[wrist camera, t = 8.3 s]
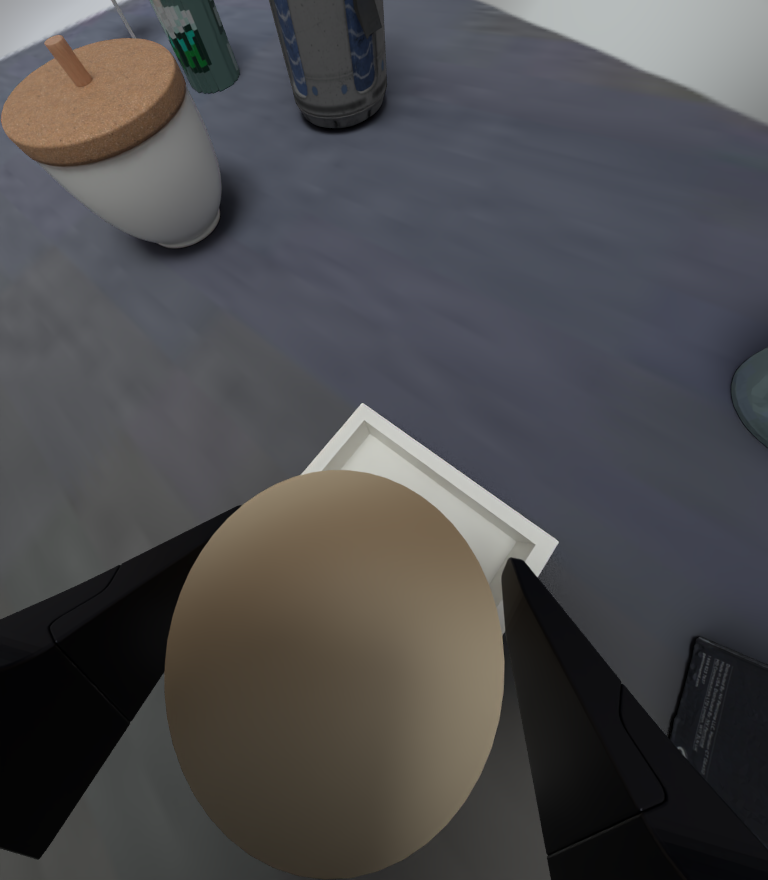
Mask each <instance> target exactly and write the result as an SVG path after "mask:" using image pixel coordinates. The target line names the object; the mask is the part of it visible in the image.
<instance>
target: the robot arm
mask: <svg viewBox="0 0 768 880" xmlns="http://www.w3.org/2000/svg"><path fill="white" fill-rule="evenodd" d="M240 507H241V505H239V506H236V507H234V508H232V509H230V510H228V511H226V512H224V513H222V514H220V515H218V516H216V517H214V518H212V519H210V520H208V521H206V522H204V523H202V524H200V525H198V526H196V527H194V528H192V529H190V530H188V531H186V532H184V533H182V534H180V535H178V536H176V537H174V538H172V539H170V540H168V541H166V542H164V543H162V544H160V545H158V546H156V547H154V548H152V549H150V550H148V551H146V552H144V553H142V554H140V555H138V556H136V557H134V558H132V559H130V560H128V561H126V562H124V563H122V564H121V565H118V566H116V567H114V568H112V569H110V570H108V571H106V572H104V573H102V574H100V575H98V576H96V577H94V578H92V579H90V580H88V581H86V582H83V583H81V584H79V585H77V586H75V587H73V588H70V589H68V590H66V591H64V592H62V593H59V594H57V595H55V596H53V597H50V598H48V599H46V600H44V601H41V602H39V603H37V604H35V605H32V606H30V607H28V608H25V609H23V610H21V611H19V612H16V613H14V614H12V615H10V616H7V617H5V618H3V619H1V620H0V849H3V850H6V851H10V852H13V853H16V854H20V855H23V856H27V857H30V858H33V859H37V860H38V859H40V858H41V856H42V855H43V854H44V852H45V851H46V849H47V848H48V847H49V845H50V844H51V842H52V841H53V839H54V838H55V836H56V835H57V833H58V832H59V830H60V829H61V827H62V826H63V824H64V823H65V821H66V820H67V818H68V817H69V815H70V814H71V812H72V811H73V809H74V808H75V806H76V805H77V803H78V802H79V800H80V799H81V797H82V796H83V794H84V792H85V791H86V789H87V788H88V786H89V785H90V783H91V782H92V780H93V779H94V777H95V776H96V774H97V773H98V771H99V770H100V768H101V767H102V765H103V764H104V762H105V761H106V759H107V758H108V756H109V755H110V753H111V752H112V750H113V749H114V747H115V746H116V744H117V743H118V741H119V740H120V738H121V737H122V735H123V734H124V732H125V731H126V729H127V728H128V726H129V725H130V722H131V721H132V720H133V718H134V717H135V715H136V714H137V712H138V711H139V709H140V708H141V706H142V705H143V703H144V702H145V700H146V699H147V697H148V696H149V694H150V693H151V691H152V690H153V688H154V686H155V685H156V683H157V682H158V680H159V679H160V677H161V676H162V674H163V673H164V671H165V658H166V649H167V640H168V635H169V631H170V626H171V622H172V617H173V614H174V610H175V607H176V604H177V601H178V598H179V595H180V592H181V590H182V588H183V585H184V583H185V581H186V579H187V576H188V574H189V572H190V570H191V568H192V567H193V565H194V563H195V561H196V560H197V558H198V556H199V554H200V553H201V551H202V550H203V548H204V547H205V545H206V544H207V543H208V541H209V540H210V539H211V537H212V536H213V534H214V533H215V532H216V531H217V530H218V529H219V528H220V527H221V525H222V524H223V523H224V522H225V521H226V520H227V519H228V518H229V517H230V516H231V515H232V514H233V513H234V512H236V511H237V510H238V509H239V508H240ZM501 584H502V597H503V610H504V622H505V632H506V638H507V644H508V649H509V654H510V660H511V665H512V671H513V676H514V681H515V687H516V692H517V698H518V703H519V708H520V714H521V719H522V724H523V730H524V735H525V741H526V746H527V751H528V757H529V762H530V768H531V773H532V778H533V784H534V789H535V794H536V800H537V805H538V811H539V816H540V821H541V827H542V832H543V838H544V843H545V848H546V853H547V855H548V856H547V860H548V866H549V871H550V876H551V880H768V849H767V848H766V847H765V846H764V845H763V843H762V842H761V841H760V840H759V839H758V838H757V837H756V836H755V835H754V833H753V832H752V831H751V830H750V829H749V828H748V827H747V826H746V825H745V823H744V822H743V821H742V820H741V819H740V818H739V817H738V816H737V815H736V813H735V812H734V811H733V810H732V809H731V808H730V807H729V806H728V805H727V803H726V802H725V801H724V800H723V799H722V798H721V797H720V796H719V794H718V793H717V792H716V791H715V790H714V789H713V788H712V787H711V786H710V784H709V783H708V782H707V781H706V780H705V779H704V778H703V777H702V776H701V774H700V773H699V772H698V771H697V770H696V769H695V768H694V767H693V766H692V764H691V763H690V762H689V761H688V760H687V759H686V758H685V757H684V755H683V754H682V753H681V752H680V751H679V750H678V749H677V747H676V746H675V745H674V744H673V743H672V742H671V741H670V739H669V738H668V737H667V736H666V735H665V734H664V733H663V731H662V730H661V729H660V728H659V727H658V725H657V724H656V723H655V722H654V721H653V719H652V718H651V717H650V716H649V715H648V713H647V712H646V711H645V710H644V709H643V707H642V706H641V705H640V704H639V703H638V701H637V700H636V699H635V698H634V696H633V695H632V694H631V693H630V691H629V690H628V689H627V688H626V686H625V685H624V684H621V681H620V679H619V678H618V677H617V675H616V674H615V673H614V672H613V671H612V669H611V668H610V667H609V666H608V664H607V663H606V662H605V661H604V659H603V658H602V657H601V656H600V654H599V653H598V652H597V651H596V649H595V648H594V647H593V646H592V644H591V643H590V642H589V641H588V639H587V638H586V637H585V636H584V635H583V633H582V632H581V631H580V630H579V628H578V627H577V626H576V625H575V623H574V622H573V621H572V620H571V618H570V617H569V616H568V615H567V613H566V612H565V611H564V610H563V608H562V607H561V606H560V605H559V603H558V602H557V601H556V600H555V599H554V597H553V596H552V595H551V594H550V592H549V591H548V590H547V589H546V587H545V586H544V585H543V584H542V582H541V581H540V580H539V579H538V577H537V576H536V575H535V574H534V572H533V571H532V570H531V569H530V567H529V566H528V565H527V564H526V563H525V561H523V560H522V559H518V558H512V557H510V558H509V559H508V560H507V562H506V565H505V567H504V570H503V572H502V576H501Z"/></svg>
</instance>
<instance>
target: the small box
mask: <svg viewBox="0 0 768 880" xmlns="http://www.w3.org/2000/svg"><path fill="white" fill-rule="evenodd" d="M670 741H671V742H672V743H673V744H674V745H675V746H676V747H677V749H678V750H679V751H680V752H681V753H682V754H683V755H684V757H685V758H686V759H687V760H688V761H689V762H690V763H691V764H692V766H693V767H694V768H695V769H696V770H697V771H698V772H699V773H700V774H701V776H702V777H703V778H704V779H705V780H706V781H707V782H708V783H709V784H710V786H711V787H712V788H713V789H714V790H715V791H716V792H717V793H718V794H719V796H720V797H721V798H722V799H723V800H724V801H725V802H726V803H727V805H728V806H729V807H730V808H731V809H732V810H733V811H734V812H735V813H736V815H737V816H738V817H739V818H740V819H741V820H742V821H743V822H744V823H745V825H746V826H747V827H748V828H749V829H750V830H751V831H752V832H753V833H754V835H755V836H756V837H757V838H758V839H759V840H760V841H761V842H762V843H763V845H764V846H765V847H766V848H767V849H768V665H767V664H764V663H762V662H760V661H758V660H755V659H752V658H750V657H748V656H745V655H743V654H741V653H739V652H737V651H734V650H732V649H729V648H727V647H724V646H721V645H719V644H717V643H715V642H713V641H710V640H707V639H705V638H703V637H699V638H697V639H696V643H695V645H694V651H693V656H692V660H691V663H690V668H689V671H688V676H687V680H686V683H685V687H684V690H683V694H682V697H681V701H680V704H679V708H678V712H677V715H676V717H675V719H674V724H673V730H672V733H671V737H670Z"/></svg>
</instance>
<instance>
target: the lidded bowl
mask: <svg viewBox="0 0 768 880" xmlns="http://www.w3.org/2000/svg"><path fill="white" fill-rule="evenodd" d="M45 45H46V47H47V48H48V49H49V51H50V52H51V53H52V55H53V56H54V57H55V59H52V60H51V61H49V62H48V63H46V64H44V65H43V66H41V67H40V68H38V69H37V70H35V71H34V72H32V73H31V74H30V75H29V76H27V77H26V78H25V79H24V80H23V81H22V82H21V83H20V84H19V85H18V86H17V87H16V88H15V89H14V90H13V92H12V93H11V94H10V96H9V97H8V99H7V101H6V102H5V104H4V107H3V110H2V115H1V123H2V126H3V129H4V131H5V133H6V134H7V136H8V137H9V138H10V139H11V140H12V141H13V142H14V143H15V144H16V145H17V146H18V147H19V148H20V149H21V150H22V151H23V152H24V153H25V154H27V155H28V156H29V157H30V158H32V159H33V160H35V161H36V162H37V163H38V164H39V165H40V166H41V167H42V168H43V169H44V170H45V171H46V172H47V173H48V174H49V175H50V176H51V177H53V178H54V179H55V180H56V181H57V182H58V183H59V184H60V185H61V186H62V187H63V188H64V189H65V190H66V191H68V192H69V193H70V194H71V195H72V196H73V197H75V198H76V199H77V200H78V201H79V202H81V203H82V204H83V205H84V206H85V207H87V208H88V209H89V210H90V211H92V212H93V213H95V214H96V215H97V216H99V217H100V218H101V219H103V220H104V221H105V222H107V223H109V224H110V225H112V226H114V227H115V228H117V229H119V230H121V231H123V232H125V233H127V234H129V235H131V236H134V237H136V238H139V239H142V240H146V241H150V242H154V243H158V244H159V245H161V246H163V247H166V248H184V247H188V246H191V245H193V244H196V243H198V242H200V241H201V240H203V239H204V238H206V237H207V236H208V235H209V234H210V233H211V232H212V231H213V230H214V229H215V227H216V226H217V224H218V222H219V219H220V209H219V206H220V201H221V193H222V185H221V174H220V169H219V164H218V160H217V157H216V154H215V151H214V148H213V145H212V142H211V139H210V137H209V134H208V132H207V129H206V127H205V124H204V122H203V120H202V117H201V115H200V113H199V111H198V109H197V107H196V105H195V103H194V101H193V99H192V97H191V95H190V93H189V91H188V89H187V87H186V83H185V80H184V77H183V75H182V73H181V71H180V68H179V66H178V64H177V62H176V60H175V59H174V57H173V56H172V54H171V53H170V52H169V51H168V50H167V49H166V48H164V47H163V46H162V45H160V44H158V43H155V42H152V41H149V40H145V39H134V38H120V39H112V40H106V41H100V42H96V43H93V44H89V45H86V46H83V47H80V48H77V49H74V50H72V49H71V47H70V46H69V45H68V43H67V42H66V40H65V39H64V37H63V36H61V35H56V36H53V37H50V38H49V39H47V40H46V41H45Z"/></svg>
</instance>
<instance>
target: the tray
mask: <svg viewBox="0 0 768 880" xmlns="http://www.w3.org/2000/svg"><path fill="white" fill-rule="evenodd" d="M327 470H351V471H358V472H365V473H370V474H374V475H377V476H381V477H384V478H387V479H390V480H392V481H394V482H397V483H399V484H401V485H404V486H405V487H407V488H409V489H411V490H412V491H414V492H416V493H417V494H419V495H421V496H422V497H423V498H425V499H426V500H427V501H428V502H430V503H431V504H432V505H434V506H435V507H436V508H437V509H438V510H439V511H440V512H441V513H442V514H443V515H444V516H445V517H446V518H447V519H448V520H449V521H450V522H451V523H452V524H453V525H454V526H455V527H456V529H457V530H458V531H459V533H460V534H461V535H462V536H463V538H464V539H465V540H466V542H467V543H468V545H469V546H470V548H471V550H472V551H473V553H474V555H475V556H476V558H477V560H478V561H479V563H480V566H481V568H482V570H483V572H484V574H485V577H486V579H487V581H488V583H489V586H490V589H491V592H492V595H493V598H494V601H495V605H496V608H497V612H498V617H499V622H500V627H501V632H502V636H503V634H504V632H505V622H504V610H503V597H502V584H501V576H502V572H503V570H504V567H505V565H506V562H507V560H508V559H509V558H510V557H512V558H518V559H522V560H523V561H525V563H526V564H527V565H528V566H529V567H530V569H531V570H532V571H533V572H534V574H535V575H536V576H537V577H538V576H539V574H540V573H541V571H542V569H543V568H544V566H545V564H546V563H547V561H548V559H549V558H550V556H551V554H552V553H553V551H554V549H555V548H556V546H557V544H558V543H559V541H557V540H556V539H554V538H553V537H552V536H550V535H549V534H547V533H546V532H545V531H543V530H542V529H540V528H539V527H537V526H536V525H535V524H533V523H532V522H530V521H529V520H528V519H526V518H525V517H523V516H522V515H521V514H519V513H518V512H516V511H515V510H513V509H512V508H511V507H509V506H508V505H506V504H505V503H504V502H502V501H501V500H499V499H498V498H496V497H495V496H494V495H492V494H491V493H489V492H488V491H487V490H485V489H484V488H482V487H481V486H479V485H478V484H477V483H475V482H474V481H472V480H471V479H470V478H468V477H467V476H465V475H464V474H462V473H461V472H460V471H458V470H457V469H455V468H454V467H453V466H451V465H450V464H448V463H447V462H446V461H444V460H443V459H441V458H440V457H438V456H437V455H436V454H434V453H433V452H431V451H430V450H429V449H427V448H426V447H424V446H423V445H421V444H420V443H419V442H417V441H416V440H414V439H413V438H412V437H410V436H409V435H407V434H406V433H404V432H403V431H402V430H400V429H399V428H397V427H396V426H395V425H393V424H392V423H390V422H389V421H388V420H386V419H385V418H383V417H382V416H380V415H379V414H378V413H376V412H375V411H373V410H372V409H371V408H369V407H368V406H366V405H365V404H363V403H362V404H361V405H360V406H359V407H358V408H357V410H356V411H355V412H354V413H353V414H352V416H351V417H350V418H349V419H348V420H347V421H346V423H345V424H344V425H343V426H342V427H341V428H340V430H339V431H338V432H337V433H336V434H335V435H334V437H333V438H332V439H331V440H330V441H329V443H328V444H327V445H326V446H325V447H324V448H323V450H322V451H321V452H320V453H319V454H318V455H317V457H316V458H315V459H314V460H313V461H312V462H311V464H310V465H309V466H308V467H307V468H306V470H305V471H304V472H303V473H302V474H301V475H304V474H308V473H312V472H319V471H327Z"/></svg>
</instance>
